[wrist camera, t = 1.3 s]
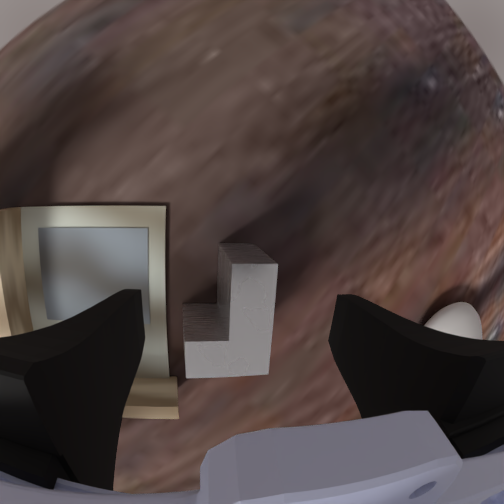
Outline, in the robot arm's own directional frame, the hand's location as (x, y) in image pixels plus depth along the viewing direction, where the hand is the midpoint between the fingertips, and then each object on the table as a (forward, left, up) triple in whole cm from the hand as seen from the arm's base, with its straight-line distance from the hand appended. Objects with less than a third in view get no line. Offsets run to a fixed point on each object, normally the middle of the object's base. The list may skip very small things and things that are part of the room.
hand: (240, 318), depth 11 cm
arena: (-4, +9, -12) cm, 15 cm away
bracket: (-3, -1, -12) cm, 12 cm away
